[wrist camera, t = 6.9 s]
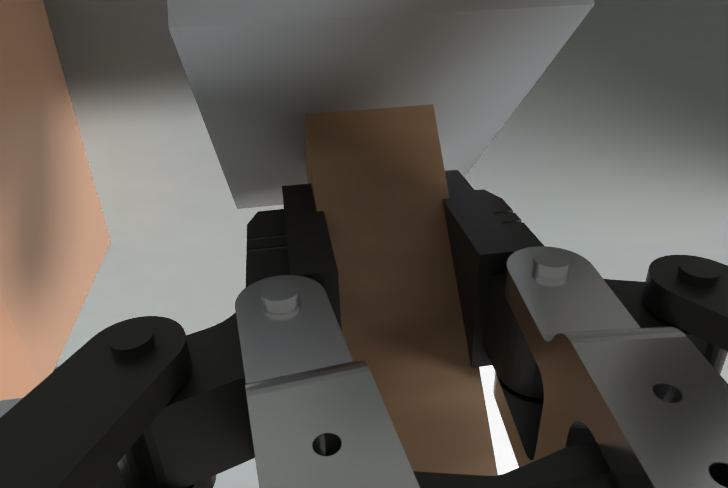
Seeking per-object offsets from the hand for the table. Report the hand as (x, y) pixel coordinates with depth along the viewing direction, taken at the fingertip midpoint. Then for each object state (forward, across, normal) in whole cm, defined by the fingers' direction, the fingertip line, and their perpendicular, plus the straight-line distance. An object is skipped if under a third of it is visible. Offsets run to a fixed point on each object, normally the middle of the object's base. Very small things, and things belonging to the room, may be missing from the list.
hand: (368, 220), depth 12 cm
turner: (+1, 0, -2) cm, 3 cm away
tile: (+9, +9, 0) cm, 13 cm away
